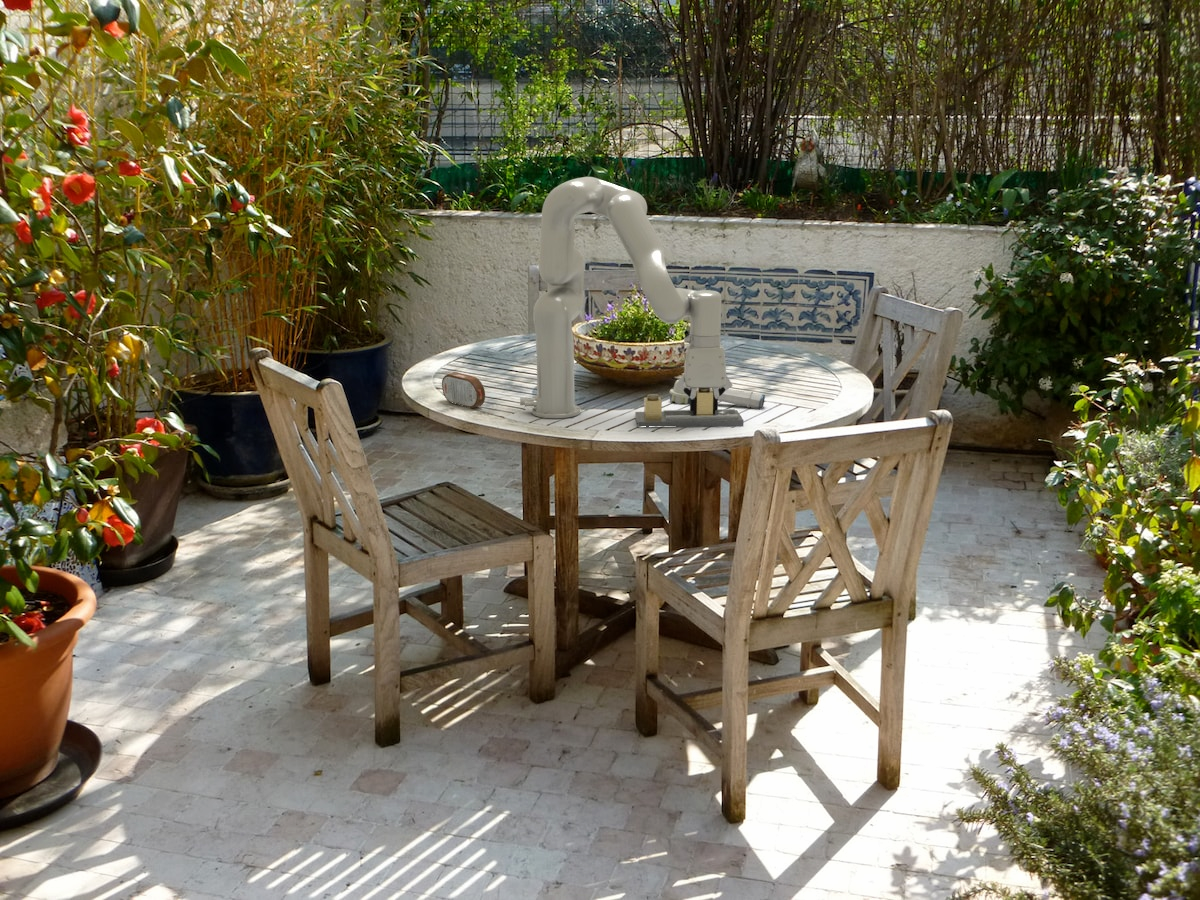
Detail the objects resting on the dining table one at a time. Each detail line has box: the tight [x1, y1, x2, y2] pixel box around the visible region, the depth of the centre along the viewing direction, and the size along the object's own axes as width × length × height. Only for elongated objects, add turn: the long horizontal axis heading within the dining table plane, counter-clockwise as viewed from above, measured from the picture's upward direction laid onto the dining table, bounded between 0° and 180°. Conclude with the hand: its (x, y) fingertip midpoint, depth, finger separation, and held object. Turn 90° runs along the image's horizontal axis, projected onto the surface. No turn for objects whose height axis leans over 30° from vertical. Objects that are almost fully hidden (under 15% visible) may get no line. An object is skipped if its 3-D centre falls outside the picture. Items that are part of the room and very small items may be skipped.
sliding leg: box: [695, 388, 713, 415], centre depth 294 cm, size 4×4×7 cm
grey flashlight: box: [669, 379, 766, 409], centre depth 312 cm, size 5×7×25 cm
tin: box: [441, 371, 486, 409], centre depth 312 cm, size 15×3×8 cm, turn 47°
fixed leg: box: [643, 393, 663, 419], centre depth 294 cm, size 4×4×6 cm
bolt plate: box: [634, 408, 745, 428], centre depth 295 cm, size 26×10×2 cm, turn 93°
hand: (703, 412), depth 295 cm, fingers closed on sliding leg, 4 cm apart
